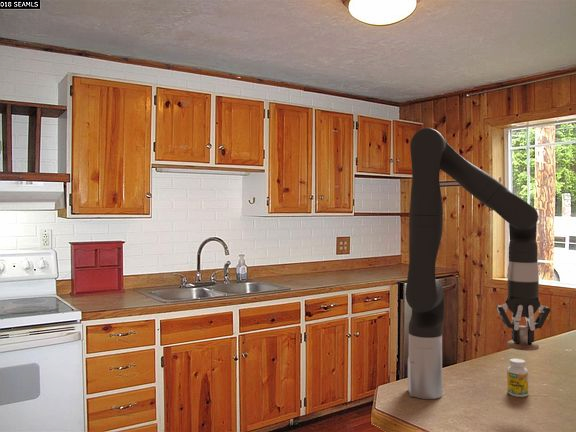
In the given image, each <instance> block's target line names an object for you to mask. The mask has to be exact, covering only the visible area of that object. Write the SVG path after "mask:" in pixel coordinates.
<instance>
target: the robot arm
mask: <svg viewBox="0 0 576 432" xmlns="http://www.w3.org/2000/svg"><path fill="white" fill-rule="evenodd" d="M409 143H410V144H409V147H410V148H409V149H410V151H409V152H410V160H411V175H412V177H411V189H410V200H409V215H408V217H409V219H408V250H409V251H408V259H409V260H408V271H407V277H406V279H407V280H406V285H405V300H406V303H407V304H408V307H410V308H411V315H410V316H411V317H410V320H409V323H408V357H407V391H408V393H409V396H410V397H414V398H418V399H422V400H423V399H424V400H435V399H440V398H441V397H442V396H443V325H444V322H445V321H444V320H445V318H444V317H445V293H444V289H443V285H442V284H441V282H439V280H437V279H436V263H437V257H438V253H439V249H440V246H441V241H442V236H443V231H444V230H443V228H444V226H443V225H444V206H443V196H442V191H441V185H440V184H441V183H440V170H441V172H443V173H444V174H446V175H448V176H449V177H451V178H452V179H453V180H454V181H455V182H456V183H458V184H459V185H460V186H461V187H462V188H463V189H464V190H465V191H467V192H468V193H469V194H470V195H471V196H473V197H474V198H475V199H476V200H478V201H479V202H480V203H482V204H483V205H484V206H486V207H488V208H489V209H490V210H492V211H494V212H495V213H496V214H497V215H499V216H500V217H501V218H502V219H503V220H504V221H506V222H507V223H508V229H509V231H508V233H509V244H508V264H507V273H506V278H507V298H506V300H505V303H503V304H501V305H499V304H497V305H496V307H495V309H496V310H497V313H498V315H499V317H500V319H501V321H502V322H503V324H504V326H506V327H507V328H509V329H511V340H512V341H514V343H515V344H519V330H518V329H519V326H520V322H521V320H522V318H523V317H524V319H525V321H526V322H525V323H526V326H527V327H528V344H532V342H534V341H535V330H536V329H537V330H538V329H542V328H543V326H544V324H545V323H546V322H545V321H546V320H547V318H548V316H549V314H550V312H551V308H550V307H548V306H545V305H543V304H541V301H540V300H539V298H540V295H539V294H540V293H539V291H540V287H539V285H540V283H539V280H540V279H539V278H540V277H539V276H540V275H539V273H540V272H539V271H540V270H539V263H538V260H539V259H538V257H539V256H538V244H537V228H538V227H537V225H538V221H539V214H538V211H537V209H536V208H535V207H534V206H533V205H531V204H530V203H528V202H527V201H526V200H524V199H523V198H521V197H519V196H517V194H515V193H513V192H511V191H510V189H508V188H507V187H506V186H505V185H504V184H502V183H501V182H500V181H498V180H497V179H495V177H493V176H492V175H490V174H489V173H488V172H487V171H484V170H483V169H481V168H480V167H478V166H476V165H475V164H473V163H471V162H470V161H469V160H467V159H466V158H464V157H463V156H462V155H461V154H459V152H457V151H456V150H455V149H454V148H453V147H452V146H451V145H450V144H449V143H448V142H447V141H446V139H445V138H444V136H443V135H442V134H441V132H439V131H438V130H436V129H434V128H432V127H423V128H421V129H419V130H417V131H416V132H415V133H414V134H413V136H412V138H411V139H410V142H409ZM508 310H509V311H510V312H511V321H510V319H509V317H508V315H507V312H508ZM537 311H538V314H537V317H536V319H535V314H536V312H537ZM534 343H535V342H534Z"/></svg>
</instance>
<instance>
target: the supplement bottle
mask: <svg viewBox="0 0 576 432" xmlns="http://www.w3.org/2000/svg"><path fill="white" fill-rule="evenodd" d="M509 365H510V366H508V367H507V374H506V375H507V376H506V377H507V393H508V394H509V395H510V396H513V397H517V398H525V397H527V396H528V395H529V371H528V369H527V368H526V361H525V359H521V358H511V359H509Z"/></svg>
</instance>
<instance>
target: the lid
mask: <svg viewBox="0 0 576 432" xmlns="http://www.w3.org/2000/svg"><path fill="white" fill-rule="evenodd" d="M518 330H519V344H515V343H514V341H512V339H511V340H508V341H507V342H506V346H507V347H508V348H509V349H513V350H516V351H517V350H518V351H528V352H531V351H533V352H534V351H537V350H539V349H540V345H539V344H538V343H537V342H532V344H528V327H527V325H519V329H518Z"/></svg>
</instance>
